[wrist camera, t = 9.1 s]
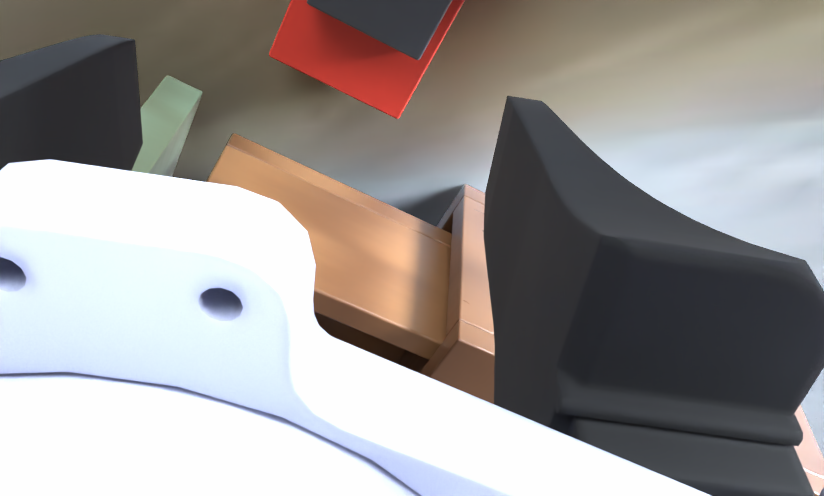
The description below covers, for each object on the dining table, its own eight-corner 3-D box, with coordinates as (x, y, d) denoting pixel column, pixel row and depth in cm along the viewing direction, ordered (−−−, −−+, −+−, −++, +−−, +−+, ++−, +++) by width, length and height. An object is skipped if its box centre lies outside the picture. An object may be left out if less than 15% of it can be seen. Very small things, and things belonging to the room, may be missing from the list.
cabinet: (326, 393, 33) (289, 559, 27) (464, 182, 27) (458, 339, 20) (584, 495, 36) (605, 667, 30) (768, 328, 29) (845, 506, 23)
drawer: (-40, 255, 29) (-144, 370, 24) (7, -1, 23) (-119, 85, 18) (369, 416, 33) (349, 545, 28) (503, 232, 27) (507, 356, 22)
